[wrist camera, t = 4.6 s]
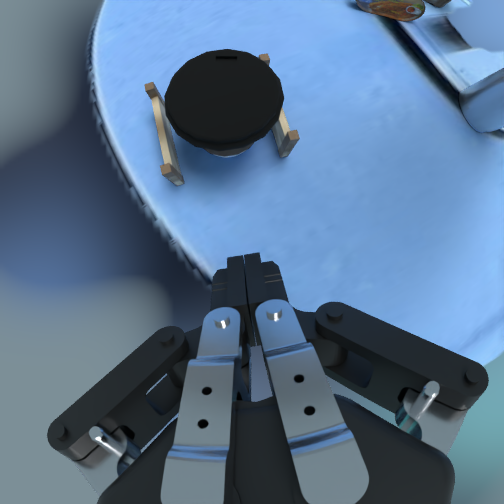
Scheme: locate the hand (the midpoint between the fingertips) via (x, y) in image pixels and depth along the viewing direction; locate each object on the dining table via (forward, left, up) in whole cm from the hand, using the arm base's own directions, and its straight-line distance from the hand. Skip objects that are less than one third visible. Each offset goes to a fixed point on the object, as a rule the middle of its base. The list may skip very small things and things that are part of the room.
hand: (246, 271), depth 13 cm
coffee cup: (+3, -14, -21) cm, 25 cm away
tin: (-21, -49, -21) cm, 57 cm away
